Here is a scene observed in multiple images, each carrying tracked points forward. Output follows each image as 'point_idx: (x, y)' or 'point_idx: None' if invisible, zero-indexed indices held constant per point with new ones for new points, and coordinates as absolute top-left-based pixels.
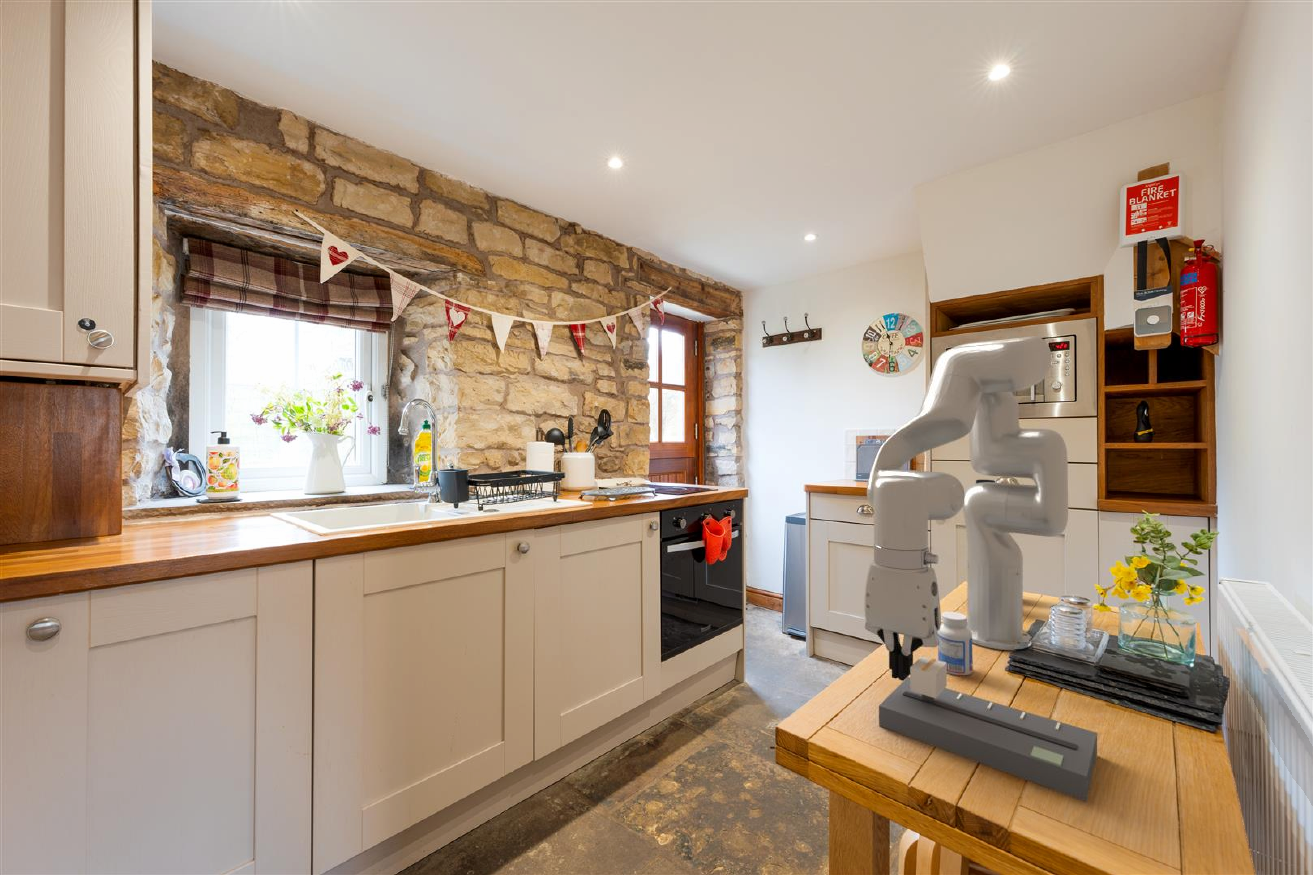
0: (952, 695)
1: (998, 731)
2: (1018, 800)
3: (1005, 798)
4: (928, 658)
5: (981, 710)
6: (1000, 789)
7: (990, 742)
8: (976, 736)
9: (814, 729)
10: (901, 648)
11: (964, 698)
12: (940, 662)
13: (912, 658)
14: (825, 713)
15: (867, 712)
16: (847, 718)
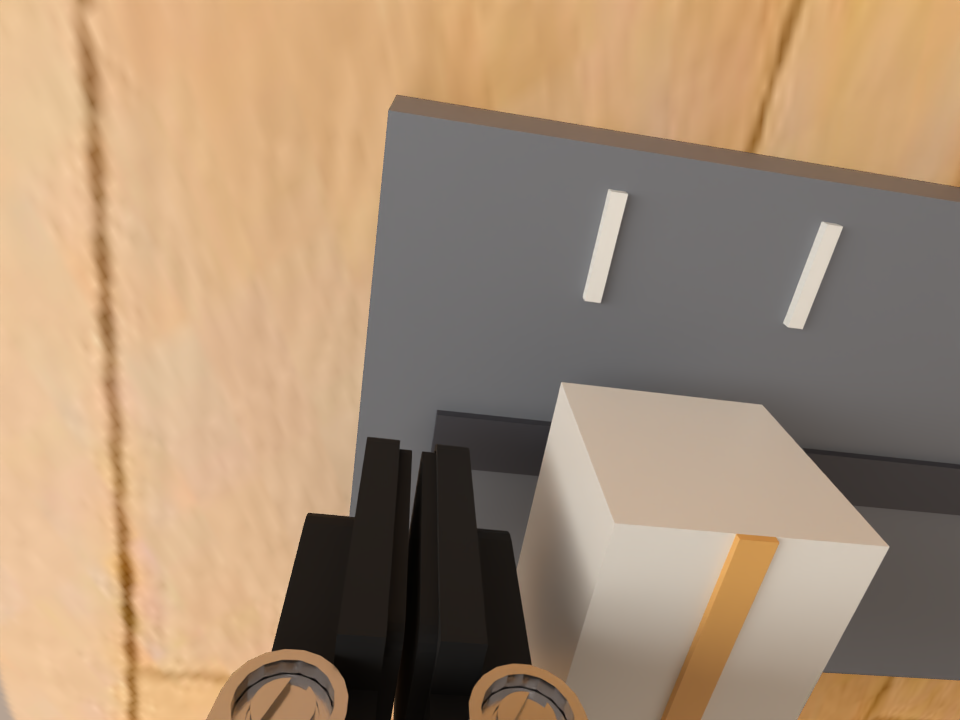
0: (761, 272)
1: (955, 562)
2: (875, 704)
3: (836, 714)
4: (693, 548)
5: (923, 385)
6: (831, 685)
7: (887, 668)
8: (833, 655)
9: (117, 714)
10: (381, 673)
11: (842, 271)
12: (820, 575)
13: (522, 633)
14: (73, 588)
15: (249, 468)
16: (190, 572)
